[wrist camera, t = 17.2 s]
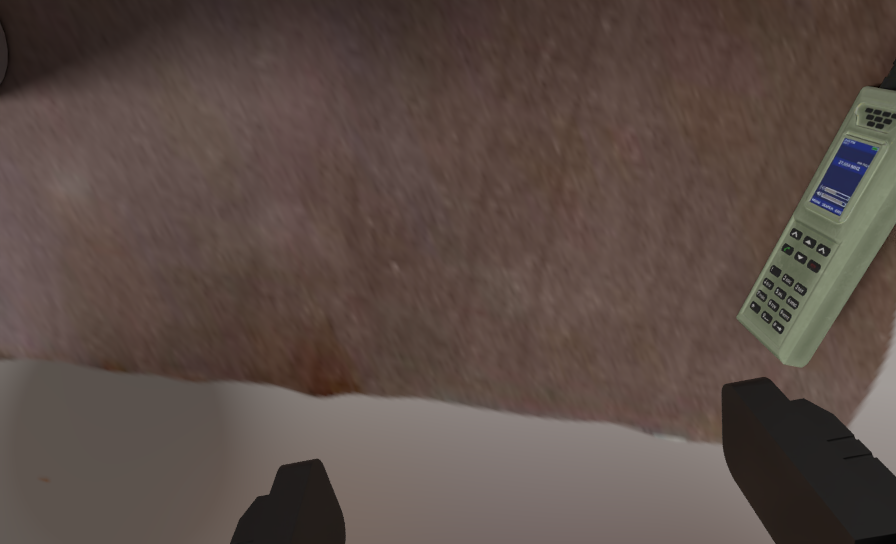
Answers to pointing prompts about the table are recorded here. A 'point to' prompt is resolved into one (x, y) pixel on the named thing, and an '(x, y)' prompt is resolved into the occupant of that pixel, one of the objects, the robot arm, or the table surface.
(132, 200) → the table surface
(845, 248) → the handheld radio
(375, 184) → the table surface
